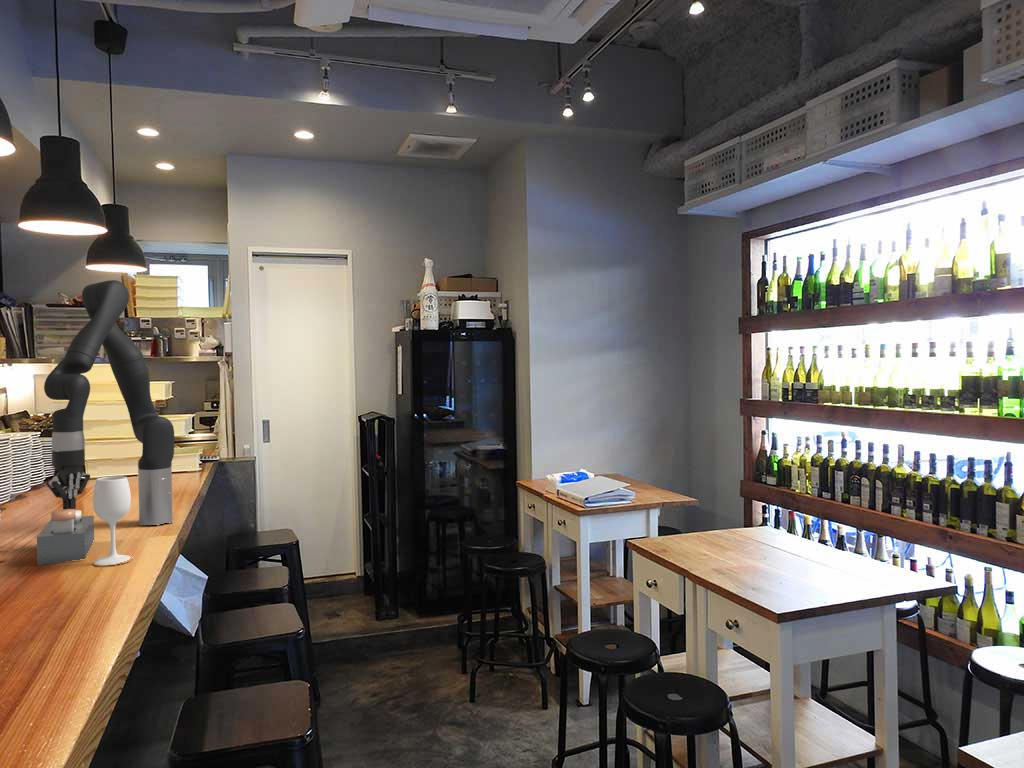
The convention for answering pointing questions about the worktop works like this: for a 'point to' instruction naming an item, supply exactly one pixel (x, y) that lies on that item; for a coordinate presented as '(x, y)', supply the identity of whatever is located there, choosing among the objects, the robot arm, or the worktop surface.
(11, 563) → the worktop surface
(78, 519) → the white ball knob
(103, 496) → the wineglass
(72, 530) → the plunger
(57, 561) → the plunger panel
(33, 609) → the worktop surface
